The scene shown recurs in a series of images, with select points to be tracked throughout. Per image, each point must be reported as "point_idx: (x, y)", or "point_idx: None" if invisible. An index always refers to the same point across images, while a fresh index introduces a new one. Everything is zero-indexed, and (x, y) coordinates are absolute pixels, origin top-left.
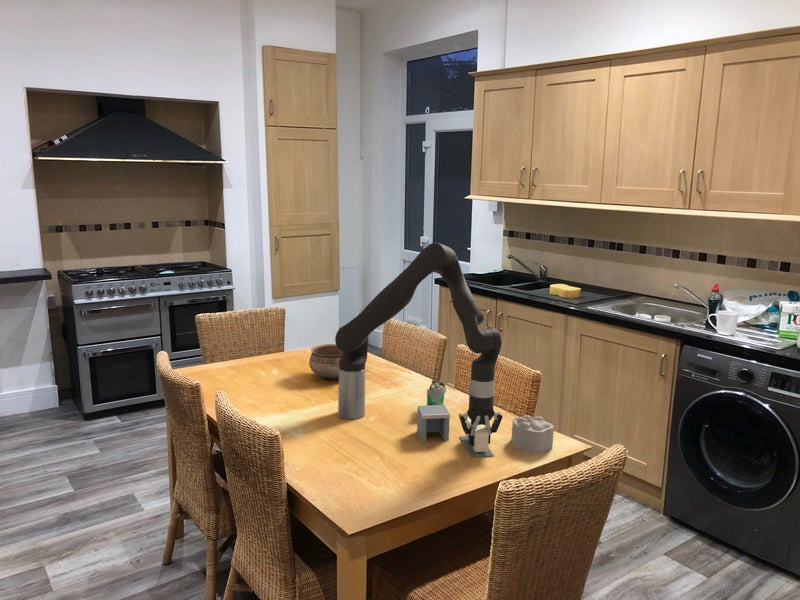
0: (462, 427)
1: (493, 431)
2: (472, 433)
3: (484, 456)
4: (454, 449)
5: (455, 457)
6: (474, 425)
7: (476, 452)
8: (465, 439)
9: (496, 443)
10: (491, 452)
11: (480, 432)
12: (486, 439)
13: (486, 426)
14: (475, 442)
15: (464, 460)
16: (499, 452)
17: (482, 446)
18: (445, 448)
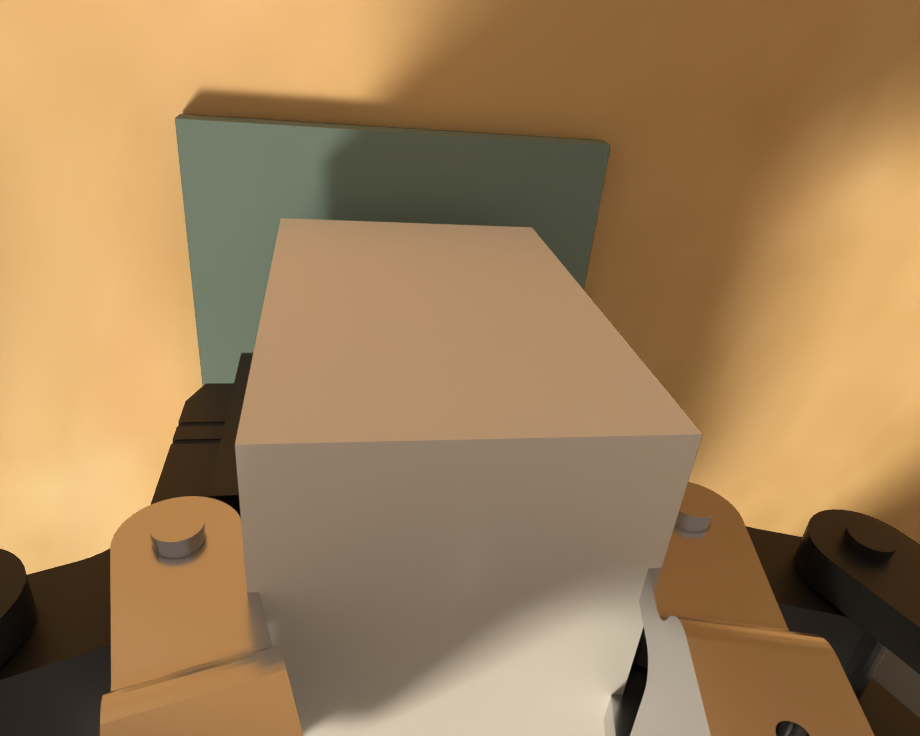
0: (908, 714)
1: (13, 580)
2: (702, 512)
3: (368, 127)
4: (704, 434)
5: (827, 193)
6: (839, 733)
7: None
8: None
9: (38, 565)
10: (194, 249)
11: (524, 492)
12: (318, 327)
13: (290, 723)
14: (590, 309)
15: (759, 54)
16: (27, 272)
17: (405, 259)
18: (793, 467)
